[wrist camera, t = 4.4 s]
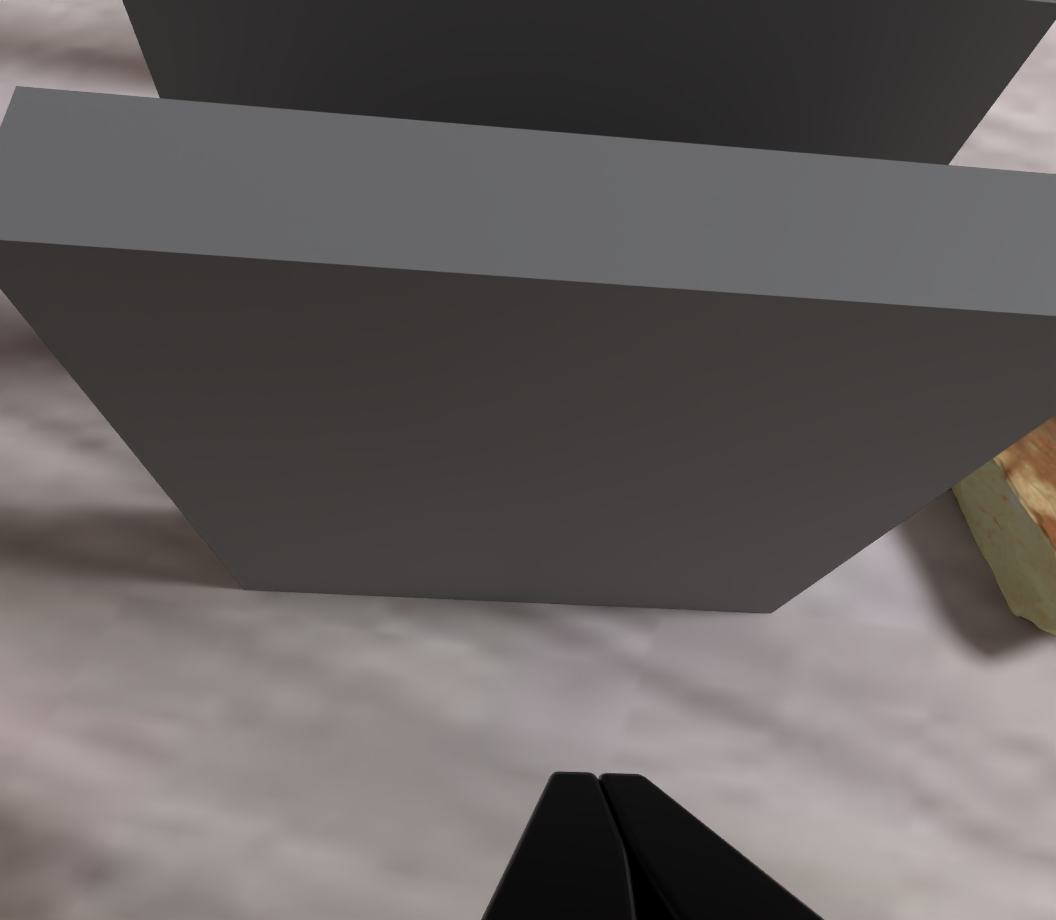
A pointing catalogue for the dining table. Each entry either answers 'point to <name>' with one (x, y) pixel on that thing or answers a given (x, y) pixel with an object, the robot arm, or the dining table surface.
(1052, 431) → the shard
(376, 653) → the dining table surface
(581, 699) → the dining table surface
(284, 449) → the domino
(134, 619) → the dining table surface
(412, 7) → the domino
